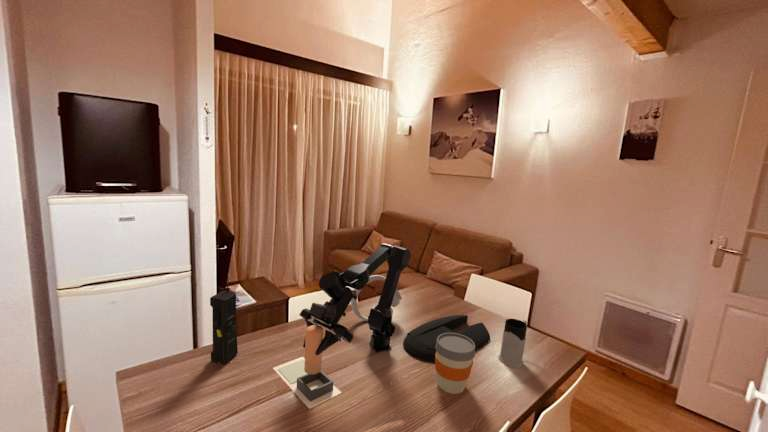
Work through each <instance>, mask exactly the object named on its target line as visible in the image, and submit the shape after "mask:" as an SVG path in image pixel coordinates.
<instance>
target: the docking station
mask: <svg viewBox="0 0 768 432" xmlns="http://www.w3.org/2000/svg"><path fill="white" fill-rule="evenodd" d="M467 323H468V315H466V314H465V315H464V314H454V315H448V316H443V317H440V318H436V319H433V320H430V321H427V322H426V323H423V324H421V325H418V326H417V327H415V328H413V329H412V330H410V331H409V332H407V334H406V336H405V338H404V339H403V340H402V341H403V342H402V347H403V349H404V351H405V352H407V354H408V355H410V356H411V357H413V358H414V359H415V358H416V359H417V360H421V361H424V362H429V363H435V354H436V348H435V346H436V341H437V338H438V336H439V335H441V334H443V333H458V334H461V335H464V336H466V337H468V338H470V339H471V340H472V341H473V342H474V344H475V352H477V351H479V350H480V349H481V348H483V347H484V346H486V345H487V344H488V343H489V342H488V341H489V340H490V341H491V336H490V332H489V331H488V329H487V327H486V326H485V324H484V323H483V322H478V323H474V324H472V325H471V324H470V325H469V326H467V327H465V328H462V329H460V330H458V331H454V330H455V329H457V328H459V327H462V326H464V325H466V324H467ZM463 324H464V325H463ZM461 325H462V326H461ZM486 343H487V344H486ZM478 349H479V350H478Z"/></svg>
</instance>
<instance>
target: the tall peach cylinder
mask: <svg viewBox="0 0 768 432" xmlns="http://www.w3.org/2000/svg"><path fill="white" fill-rule="evenodd" d="M305 336H306V339H305V338H304V340H305V348H304V358H305V366H304V371H305V372H306V373H307V374H317V373H319V372H320V371H322V364H323V363H322V360H323V352H322V353H320V354H319V355H316V354H315V353H316V351H317V349H318V347H319V345H320V344H321V342H322V340H323V338H324V327H323V326H321V325H312V326H309V327H307V326H306V328H305Z"/></svg>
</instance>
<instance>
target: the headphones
mask: <svg viewBox="0 0 768 432" xmlns="http://www.w3.org/2000/svg"><path fill="white" fill-rule="evenodd" d="M385 279H386V276H383V275H381V274H374V275H373V274H371V275H370V277H369V281H368V282H367V284H366V285H368V284H369V283H371V282H376V281H384V282H385ZM366 285H365V286H366ZM353 290H354V291H356V296H357V298H358V297H359V294H360V292H361V291H362V289H361V290H357V289H354V288H353ZM402 300H403V298H402V295H401V294H400V291H399V290H398V288H396V291H395V294H394V298H393V301H392V305H391V308H390V310H391V314H392V316H393V314H394V309H393V308H397V307H398V306H399V305H400V304H401V301H402ZM357 302H358V299H357V300H355V299H352V300H351V302H350V306H351V309H352V312H353V313H354V315H355V316H356V317H358V318H359V319H361V320H363V322H364V321H365V322H368V316H365V315H363V314H361V312H360V310H359V307H358V304H357ZM377 305H378V304H376V305H373V306H372V307H371V309H372V308H373V309H374V308H375V307H376V306H377Z"/></svg>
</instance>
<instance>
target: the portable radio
mask: <svg viewBox="0 0 768 432" xmlns="http://www.w3.org/2000/svg"><path fill="white" fill-rule="evenodd" d="M209 301H210V302H209V304H210V307H212V308H211V309H212V351H211V352H210V360H211V361H212V362H213V363H218V364H224V365H225V364H227V363H228V362H230V360H232V359H233V358H234V357H235V356H236V355H238V353H239V351H238V349H239V348H238V330H237V327H238V326H237V294H236V291H230V290H229V284H226V290H222V291H219V292H218V293H217V294H215V295H212V296H211V297H210V299H209Z"/></svg>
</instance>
